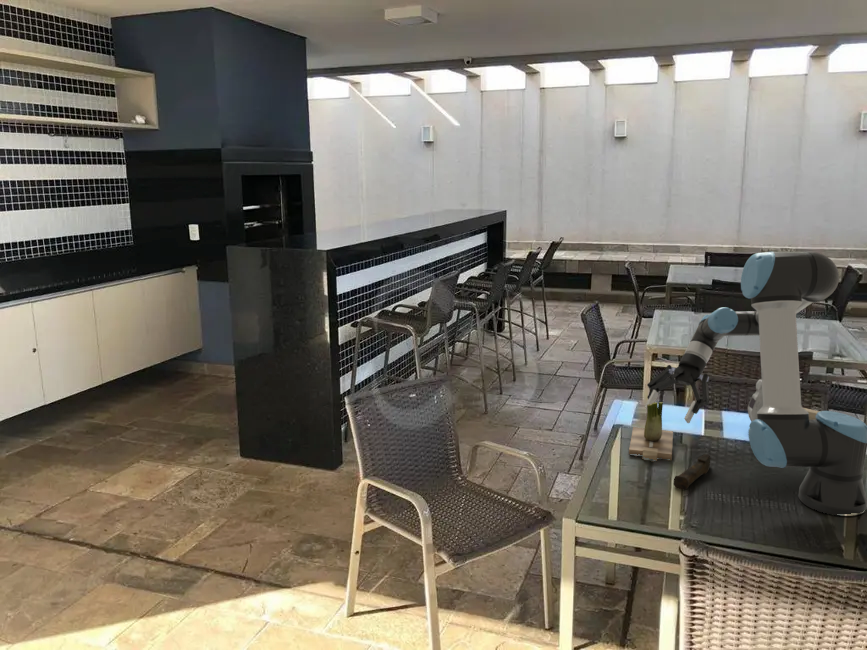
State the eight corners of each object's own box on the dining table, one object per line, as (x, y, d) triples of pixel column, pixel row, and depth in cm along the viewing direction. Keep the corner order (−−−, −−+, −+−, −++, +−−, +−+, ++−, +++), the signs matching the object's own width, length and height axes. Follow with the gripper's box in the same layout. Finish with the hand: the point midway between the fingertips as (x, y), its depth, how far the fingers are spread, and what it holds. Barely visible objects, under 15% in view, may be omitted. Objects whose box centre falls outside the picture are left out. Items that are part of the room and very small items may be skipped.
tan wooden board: (671, 463, 202) (672, 453, 201) (628, 458, 206) (628, 448, 205) (672, 434, 222) (673, 425, 221) (633, 430, 226) (633, 421, 225)
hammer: (848, 398, 224) (756, 377, 224) (855, 403, 220) (762, 382, 220) (830, 443, 228) (740, 422, 228) (837, 449, 224) (746, 428, 224)
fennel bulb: (660, 436, 215) (662, 399, 212) (664, 443, 211) (667, 405, 208) (641, 436, 216) (643, 400, 213) (645, 443, 211) (647, 405, 208)
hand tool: (686, 492, 185) (688, 476, 184) (672, 487, 188) (673, 471, 187) (718, 470, 198) (719, 455, 197) (704, 465, 201) (706, 450, 200)
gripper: (736, 373, 216) (708, 432, 210) (664, 356, 234) (635, 410, 229) (729, 360, 211) (700, 420, 206) (656, 344, 230) (627, 398, 224)
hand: (666, 415), depth 217 cm, fingers open, 13 cm apart
